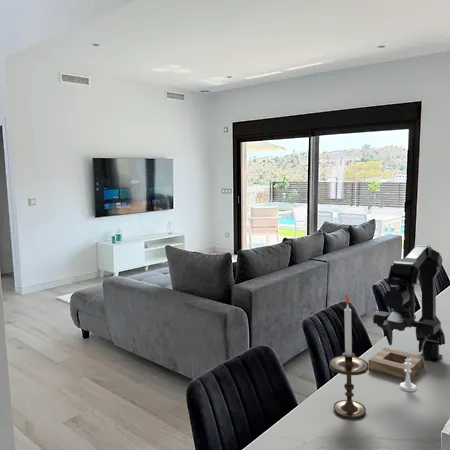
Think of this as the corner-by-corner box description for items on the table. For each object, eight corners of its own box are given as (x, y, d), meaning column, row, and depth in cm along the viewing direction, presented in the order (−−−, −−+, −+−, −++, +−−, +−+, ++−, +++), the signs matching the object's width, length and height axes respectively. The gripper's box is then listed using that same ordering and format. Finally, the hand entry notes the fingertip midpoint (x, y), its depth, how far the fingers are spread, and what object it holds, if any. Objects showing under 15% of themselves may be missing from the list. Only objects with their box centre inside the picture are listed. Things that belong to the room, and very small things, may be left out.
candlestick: (327, 401, 129) (324, 289, 126) (362, 400, 129) (361, 288, 125) (335, 421, 118) (332, 299, 115) (374, 420, 118) (372, 298, 114)
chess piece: (418, 391, 132) (418, 361, 131) (401, 391, 133) (401, 360, 132) (414, 384, 137) (414, 354, 136) (398, 383, 138) (398, 354, 137)
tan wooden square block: (384, 357, 159) (384, 347, 158) (424, 367, 149) (424, 356, 149) (368, 370, 149) (368, 359, 148) (409, 382, 139) (409, 370, 139)
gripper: (365, 302, 134) (365, 349, 135) (427, 312, 121) (427, 364, 122) (380, 294, 142) (380, 339, 143) (439, 303, 129) (439, 352, 130)
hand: (404, 348), depth 135 cm, fingers open, 9 cm apart
